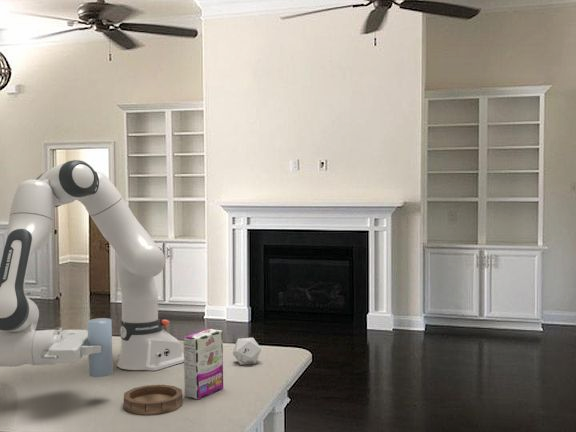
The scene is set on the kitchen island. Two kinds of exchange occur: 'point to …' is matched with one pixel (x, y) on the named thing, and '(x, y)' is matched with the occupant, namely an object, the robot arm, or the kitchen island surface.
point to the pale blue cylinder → (102, 336)
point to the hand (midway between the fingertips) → (103, 344)
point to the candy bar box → (203, 363)
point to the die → (246, 351)
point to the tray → (152, 399)
